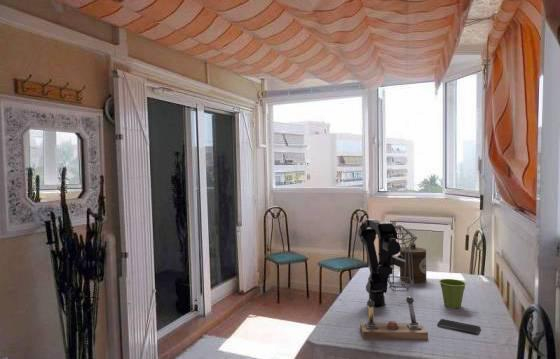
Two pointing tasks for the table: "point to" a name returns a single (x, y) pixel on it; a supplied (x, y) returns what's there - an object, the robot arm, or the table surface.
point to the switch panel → (393, 331)
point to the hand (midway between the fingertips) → (385, 285)
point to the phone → (459, 326)
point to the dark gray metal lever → (371, 312)
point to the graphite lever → (411, 310)
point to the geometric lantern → (405, 259)
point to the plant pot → (452, 292)
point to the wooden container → (414, 264)
